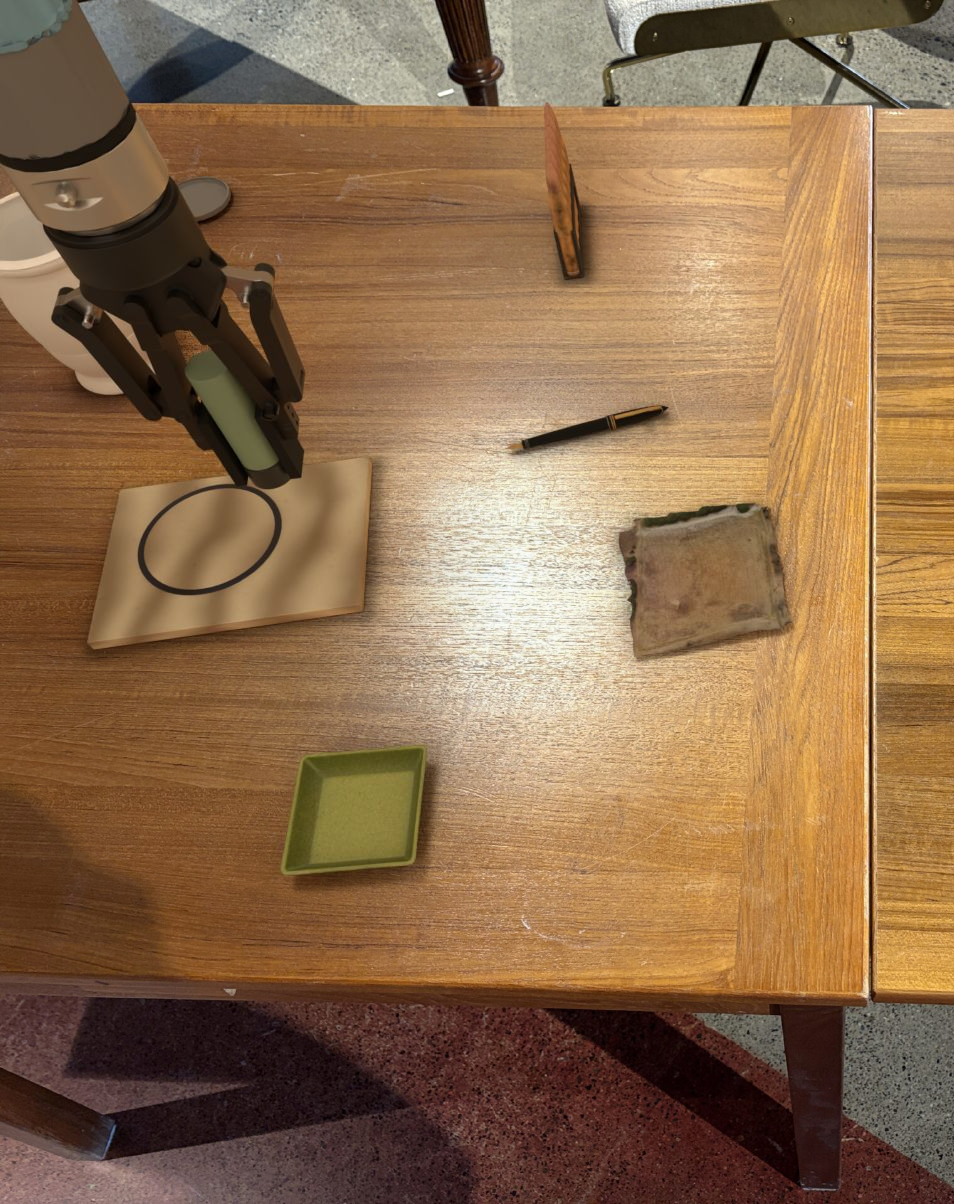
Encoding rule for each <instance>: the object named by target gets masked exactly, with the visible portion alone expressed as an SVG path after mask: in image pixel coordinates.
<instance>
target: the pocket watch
mask: <svg viewBox="0 0 954 1204" xmlns="http://www.w3.org/2000/svg"><path fill="white" fill-rule="evenodd" d="M176 184H177V186H178V188H179V190H180V192H181V193H182V195H183V197H184V199H185V201H186V203H187V204H188V206H189V208H190V210H191V212H192V214H193V215H194V217H195V219H196V221H197V222H201V221H205V220H208V219H210V218H213V217H215V216H216V215H218V214H219V213H221V212H223V210H224V209H225V208H226V207H227V206H228V204H229V202H230V201H231V196H232V194H231V189H230V187H229V185H228V184H227V182H226V181H224V180H223V179H220V178H219V177H215V176H210V175H209V176H208V175H207V176H206V175H204V176H203V175H202V176H196V177H189V178H186V179H184V180H181V181H179V182H177V183H176Z"/></svg>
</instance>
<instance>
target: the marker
mask: <svg viewBox="0 0 954 1204" xmlns="http://www.w3.org/2000/svg"><path fill="white" fill-rule="evenodd" d="M186 363H187V364H186V366H185V375H186V377H187V378H188V380H189V381H190V383H191V384H192V386H193V388H194V389H195V391H196V392H197V394H198V398H199V399H200V401H201V400H202V402H203V403H204V405H205V406H206V408H207V410H208V411H209V413H210V414H211V416H212V417H213V419H214V420H215V422H216V424H217V425H218V427H219V428H220V430H221V431H222V433H223V435H224V436H225V438H226V439H227V441H228V442H229V444H230V446H231V447H232V449H233V450H234V452H235V453H236V455H237V456H238V458H239V460H240V461H241V465H242V467H243V469H244V470H245V472H246V473H247V475H248V476H249V478H250V480H251V481H252V483H253V484H254V485H255V486H256V487H258V488H261V489H266V490H269V489H275V488H278V487H281V486H283V485H285V484H286V483H287V482H289V481H290V480H291V479H290V477H289V475H288V474H287V472H286V470H285V468H284V467H283V465H282V463H281V462H280V460H279V458H278V457H277V455H276V453H275V452H274V450H273V448H272V447H271V445H270V443H269V442H268V440H267V438H266V437H265V435H264V433H263V432H262V430H261V428H260V427H259V425H258V423H257V422H256V420H255V418H254V416H255V409H256V402H255V401H254V399H253V398H252V397H251V396H250V395H249V393H248V392H247V391H246V390H245V389H244V388H243V386H242V385H241V384H240V383H239V382H238V380H237V379H236V378H235V377H234V376H233V375H232V373H231V372H230V371H229V370H228V369H227V367H226V366H225V365H224V364H223V363H222V361H221V360H220V359H219V358H218V357H217V356H216V354H215V353H214V352H213V351H212V350H211V349H207V350H203V351H201V352H198V353H196V354H194V355H193V356H192V357H191V358H190V359H189V360H187V361H186Z"/></svg>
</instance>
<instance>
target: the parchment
mask: <svg viewBox="0 0 954 1204" xmlns="http://www.w3.org/2000/svg"><path fill="white" fill-rule="evenodd" d="M771 512H772V508H770V507H768V506H761V505H760V504H758V503H756V502H752V503H751V502H746V503H745V502H744V503H736V504H721V505H703V506H701V507H700V508H699V509H698V510H692V511H675V512H668V513H667V515H665V516H655V517H649V516H648V517H639V518H638V517H637V518H635V519H633V520H632V522H634V524H635V525H634V526H633V527H632V529H629V530H625V531H621V532H619V535H618V547H619V550H620V553H621V554H622V555H623V563H624V565H625V567H624V575H625V578H626V581H627V582H629V581H630V582H631V583H630V590H631V594H630V596H629V597H628V598H627V601H628V602H629V603H631V606H632V607H631V613H630V616H629V627H630V633H631V636H632V649H633V650H632V651H633V656H634V657H639V656H648V655H654V654H662V653H669V652H672V653H673V652H676V651H681V650H686V649H690V648H694V647H697V646H702V645H703V646H704V645H706V644H711V643H715V642H718V641H723V640H726V639H729V638H732V637H735V636H740V635H743V634H747V633H752V632H756V631H757V632H758V631H772V630H784V629H785V626H786V625H787V624H788V625H789V623H792V624H793V620H792V617H791V614H790V611H789V609H788V608H787V605H786V596H785V589H784V586H783V585H784V580H783V570H784V567H781V565H780V564H779V563H781V561H782V560H781V559H782V557H781V556H780V554H778V552H777V551H776V550H775V547H776V546H777V541H776V537H775V534H774V530H773V525H772V518H771V517H770V516H769V515H770V514H771Z"/></svg>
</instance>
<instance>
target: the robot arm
mask: <svg viewBox="0 0 954 1204" xmlns="http://www.w3.org/2000/svg"><path fill="white" fill-rule="evenodd" d="M0 168H1V170H2V171H3V173H4V174H5V175H6V177H7V178H8V180H9V181H10V183H11V184H12V186H13V187H14V188H15V190H16V192H18V193H19V194H20V196H21V197H22V199H23V200H24V202H25V203H26V204H27V206H28V207H29V209H30V210H31V212H32V213H33V215H34V216H35V217H36V219H37V220H38V221H40V222H41V223H43V229H44V231H45V233H46V235H47V236H48V238H49V239H50V241H51V242H52V244H53V245H54V247H55V248H56V250H57V251H58V253H59V254H60V256H61V257H62V258H63V260H64V261H65V263H66V264H67V266H68V267H69V269H70V270H71V272H72V273H73V274H74V276H75V277H76V278H77V279H78V280H80V284H79V287H78V288H76V289H74V288H71V287H63V288H61V289H60V290H59V292H58V296H57V299H56V302H55V306H54V309H53V312H52V316H51V320H52V322H53V323H54V324H55V325H56V326H58V327H59V328H61V329H62V330H64V331H65V332H67V333H68V334H70V335H71V336H72V337H74V338H75V339H77V340H78V341H80V342H81V343H82V344H83V346H84V347H85V348H86V349H87V350H88V352H89V353H90V354H91V355H92V356H93V357H94V359H95V360H96V361H97V362H98V363H99V365H100V366H101V367H102V368H103V369H104V371H105V372H106V373H107V374H108V375H109V377H110V378H111V379H112V380H113V381H114V382H115V384H116V385H117V386H118V387H119V388H120V390H121V391H122V392H123V395H124V396H125V397H126V398H127V399H128V400H129V402H130V403H131V404H132V405H133V407H134V408H135V409H136V410H137V411H138V412H139V414H140V415H141V416H142V417H143V418H144V419H145V420H148V421H150V422H158V421H160V420H162V419H163V418H171V419H174V420H175V421H176V422H177V423H179V424H182V425H183V427H184V429H185V430H186V432H187V433H188V435H189V436H190V438H191V439H192V440H193V442H194V444H195V445H196V446H197V448H198V449H200V450H202V452H206V451H213V453H214V454H215V456H216V458H217V459H218V461H219V462H220V464H221V465H222V467H223V468H224V470H225V471H226V473H227V475H230V477H231V479H232V480H233V482H234V483H235V485H236V486H245V485H247V484H248V477H249V476H248V475H247V473H246V472H245V470H244V469H243V467H242V465H241V461H240V460H239V458H238V456H237V455H236V453H235V452H234V450H233V449H232V447H231V446H230V444H229V442H228V441H227V439H226V438H225V436H224V435H223V433H222V431H221V430H220V428H219V427H218V425H217V424H216V422H215V420H214V419H213V417H212V416H211V414H210V413H209V411H208V410H207V408H206V406H205V405H204V403H203V402H202V400H201V399H200V400H199V395H198V394H197V392H196V391H195V389H194V388H193V386H192V384H191V383H190V381H189V380H188V378H187V377H186V375H185V366H186V364H187V361H186V359H185V356H184V353H183V350H182V348H181V346H180V343H179V341H178V338H177V335H176V332H177V331H181V332H190V333H191V334H192V335H193V337H195V339H196V340H197V341H198V342H199V343H200V344H201V346H203V347H204V346H208V347H209V349H210V350H212V351H213V352H214V353H215V354H216V356H217V357H218V358H219V359H220V360H221V361H222V363H223V364H224V365H225V366H226V367H227V369H228V370H229V371H230V372H231V373H232V375H233V376H234V377H235V378H236V379H237V380H238V382H239V383H240V384H241V385H242V386H243V388H244V389H245V390H246V391H247V392H248V393H249V395H250V396H251V397H252V398H253V399H254V401H255V402H256V409H255V416H254V418H255V420H256V422H257V423H258V425H259V427H260V428H261V430H262V432H263V433H264V435H265V437H266V438H267V440H268V442H269V443H270V445H271V447H272V448H273V450H274V452H275V453H276V455H277V457H278V458H279V460H280V462H281V463H282V465H283V467H284V468H285V470H286V472H287V474H288V475H289V477H290V479H297V478H301V477H302V468H303V465H304V456H305V449H304V448H303V445H302V443H301V442H300V440H299V439H298V438H299V431H300V423H301V422H300V421H301V419H300V417H299V415H298V413H297V411H296V409H295V408H294V406H293V403H294V404H297V403H300V402H301V401H302V400H303V399H304V398H303V397H304V389H305V382H306V381H305V379H306V370H305V367H304V365H303V362H302V360H301V356H300V355H299V352H298V350H297V347H296V345H295V342H294V340H293V338H292V335H291V333H290V330H289V328H288V324H287V323H286V320H285V318H284V315H283V313H282V310H281V307H280V305H279V302H278V300H277V298H276V295H275V293H274V292H275V280H276V270H275V267H274V266H272V265H271V264H269V263H266V262H260V263H257V264H255V265H254V268H253V270H252V269H247V268H241V267H236V266H231V265H228V263H227V260H226V259H225V258H224V257H223V256H221V255H220V254H219V253H218V252H217V251H215V250H214V249H213V248H212V247H211V246H210V245H209V244H208V242H207V241H206V238H205V236H204V234H203V231H202V229H201V226H200V225H199V223H198V221H196V219H195V217H194V215H193V214H192V212H191V210H190V208H189V206H188V204H187V203H186V201H185V199H184V197H183V195H182V193H181V192H180V190H179V188H178V186H177V183H176V181H175V180H174V179H173V178H172V176H170V171H169V168H168V165H167V163H166V161H165V159H164V158H163V156H162V154H161V152H160V151H159V148H158V147H157V146H156V143H155V142H154V140H153V139H152V137H151V135H150V133H149V132H148V130H147V128H146V127H145V125H144V122H142V119H141V118H140V115H139V114H138V112H137V111H136V109H135V107H134V105H133V102H132V101H131V99H130V98H129V96H128V94H127V92H126V90H125V88H124V87H123V84H122V83H121V80H120V79H119V77H118V75H117V73H116V71H115V70H114V68H113V65H112V64H111V61H110V60H109V58H108V56H107V54H106V52H105V51H104V49H103V47H102V45H101V44H100V42H99V39H98V37H97V36H96V34H95V31H94V30H93V28H92V26H91V24H90V23H89V20H88V19H87V17H86V15H85V12H84V11H83V9H82V7H81V5H80V3H79V1H78V0H0ZM225 289H230V290H231V291H233V292H234V294H235V295H236V298H237V300H238V301H239V302H240V306H241V307H242V308H243V309H245V310H248V311H249V319H250V322H251V325H252V327H253V329H254V332H255V334H256V336H257V339H258V341H259V344H260V346H261V348H262V350H263V352H264V353H263V354H264V355H265V357H266V358H265V357H264V356H263V355H262V354H261V352H260V351H259V350H258V348H257V347H256V346H255V345H254V343H253V342H252V341H251V340H250V339H249V337H248V336H247V335H246V333H244V331H243V330H242V329H241V327H240V326H239V325H238V323H237V322H236V321H235V320H234V319H233V318H232V316H231V314H230V312H229V308H228V305H227V304H226V302H225V301H224V299H222V298H223V295H224V293H225ZM105 311H106V312H108V313H110V314H112V315H114V316H115V317H117V318H119V319H121V320H123V321H125V322H127V323H129V324H130V325H131V327H132V329H133V331H134V334H135V336H136V338H137V341H138V343H139V345H140V348H141V350H142V351H146V353H147V356H148V358H149V360H150V363H151V365H152V367H153V370H154V372H155V373H154V372H153V371H152V370H151V368H150V367H149V366H148V365H147V363H146V362H145V361H144V360H143V358H142V357H141V356H140V354H139V353H138V352H137V351H136V349H135V348H134V347H133V346H132V344H131V343H130V342H129V341H128V339H127V338H126V337H125V336H124V334H123V333H122V332H121V331H120V329H119V328H118V327H117V325H116V324H115V323H114V322H113V320H112V319H111V318H110V317H109V316H108V315H107V313H106V312H105ZM266 359H267V360H266ZM155 374H156V375H155Z"/></svg>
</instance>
